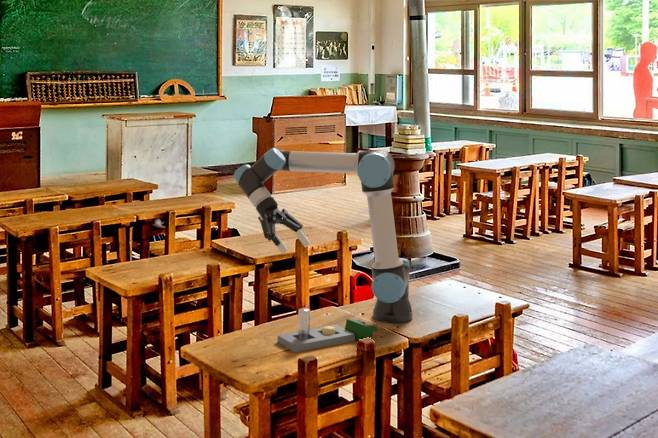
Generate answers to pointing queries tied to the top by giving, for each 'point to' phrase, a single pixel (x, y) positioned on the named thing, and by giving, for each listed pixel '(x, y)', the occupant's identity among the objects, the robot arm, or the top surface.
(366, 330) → the green angular block
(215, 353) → the top surface
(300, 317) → the peg
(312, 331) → the bolt plate
